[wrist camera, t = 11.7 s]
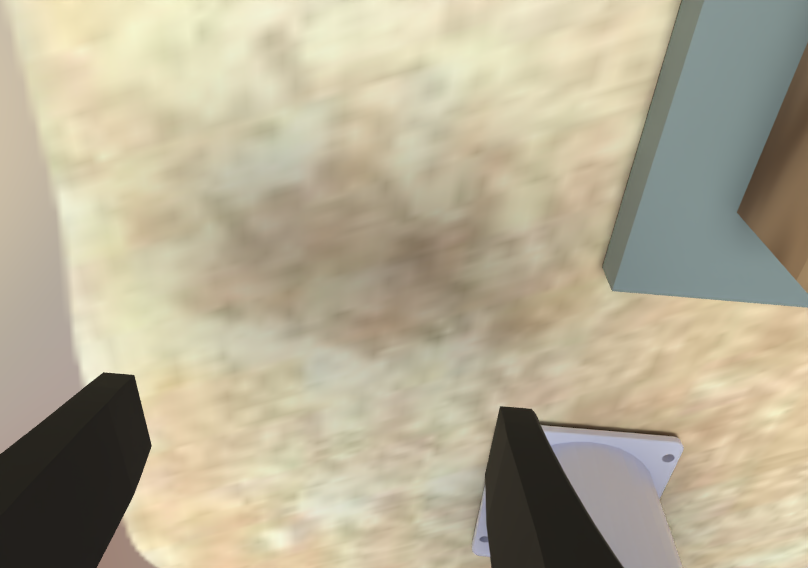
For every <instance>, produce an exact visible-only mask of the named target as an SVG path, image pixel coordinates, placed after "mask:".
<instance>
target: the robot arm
mask: <svg viewBox="0 0 808 568" xmlns="http://www.w3.org/2000/svg"><path fill="white" fill-rule="evenodd" d="M151 446H152V445H151V441H150V437H149V433H148V429H147V425H146V421H145V417H144V413H143V409H142V405H141V401H140V397H139V393H138V389H137V384H136V380H135V376H134V375H127V374H115V373H104V372H103V373H102V374H101V375H100V376H98V377H97V378H96V379H94V380H93V381H92V382H91V383H89V384H88V385H87V386H86V387H84V388H83V389H82V390H81V391H80V392H78V393H77V394H76V395H74V396H73V397H72V398H71V399H69V400H68V401H67V402H66V403H65V404H63V405H62V406H61V407H60V408H58V409H57V410H56V411H55V412H53V413H52V414H51V415H50V416H48V417H47V418H46V419H45V420H43V421H42V422H41V423H40V424H39V425H37V426H36V427H35V428H33V429H32V430H31V431H29V432H28V433H27V434H26V435H24V436H23V437H22V438H20V439H19V440H18V441H17V442H15V443H14V444H13V445H12V446H10V447H9V448H8V449H6V450H5V451H4V452H3V453H1V454H0V568H97V566H98V564H99V562H100V560H101V558H102V556H103V554H104V552H105V551H106V549H107V546H108V545H109V543H110V541H111V539H112V537H113V535H114V533H115V531H116V529H117V527H118V525H119V523H120V521H121V519H122V517H123V515H124V513H125V512H126V510H127V508H128V506H129V504H130V502H131V500H132V497H133V495H134V493H135V490H136V488H137V485H138V483H139V480H140V477H141V475H142V472H143V469H144V466H145V463H146V461H147V458H148V455H149V452H150V449H151ZM683 448H684V447H683V445H682V443H681V440H680V439H679V438H677V437H673V436H662V435H650V434H639V433H627V432H615V431H604V430H592V429H580V428H568V427H557V426H545V425H540V422H539V420H538V418H537V416H536V414H535V412H534V411H533V410H532V409H526V408H514V407H503V406H500V409H499V414H498V419H497V423H496V428H495V432H494V437H493V441H492V446H491V450H490V455H489V460H488V464H487V469H486V473H485V487H484V492H483V496H482V501H481V505H480V510H479V514H478V519H477V523H476V528H475V532H474V537H473V541H472V552H473V553H474V554H476V555H478V556H487V557H490V558H491V566H492V568H683V566H682V563H681V560H680V557H679V554H678V551H677V549H676V546H675V543H674V540H673V537H672V534H671V531H670V529H669V526H668V523H667V520H666V517H665V514H664V511H663V509H662V506H661V503H660V500H659V499H660V497H661V495H662V493H663V491H664V489H665V487H666V485H667V483H668V481H669V479H670V477H671V475H672V472H673V470H674V468H675V466H676V464H677V462H678V460H679V458H680V456H681V454H682V452H683ZM667 454H668V455H667Z"/></svg>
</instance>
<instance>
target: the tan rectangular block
mask: <svg viewBox="0 0 808 568" xmlns="http://www.w3.org/2000/svg"><path fill="white" fill-rule="evenodd" d="M737 213H738V214H739V216H740V217H741V218H742V219H743V220H744V221H745V222H746V224H747V225H748V226H749V227H750V228H751V229H752V231H753V232H754V233H755V234H756V235H757V236H758V237H759V239H760V240H761V241H762V242H763V243H764V244H765V245H766V247H767V248H768V249H769V250H770V251H771V252H772V253H773V255H774V256H775V257H776V258H777V259H778V260H779V261H780V263H781V264H782V265H783V266H784V267H785V268H786V269H787V271H788V272H789V273H790V274H791V275H792V276H793V277H794V279H795V280H796V281H797V282H798V283H799V284H800V285H801V287H802V288H803V289H804V290H805V291H806V292H807V293H808V43H807V45H806V47H805V50H804V52H803V55H802V57H801V59H800V62H799V64H798V67H797V69H796V71H795V74H794V76H793V79H792V81H791V83H790V86H789V88H788V91H787V93H786V95H785V98H784V100H783V103H782V105H781V107H780V110H779V112H778V115H777V117H776V119H775V122H774V124H773V127H772V129H771V131H770V134H769V136H768V139H767V141H766V143H765V146H764V148H763V151H762V153H761V155H760V158H759V160H758V163H757V165H756V167H755V170H754V172H753V174H752V177H751V179H750V182H749V184H748V186H747V189H746V191H745V194H744V196H743V198H742V201H741V203H740V206H739V208H738V210H737Z"/></svg>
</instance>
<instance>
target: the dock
mask: <svg viewBox="0 0 808 568" xmlns="http://www.w3.org/2000/svg"><path fill="white" fill-rule="evenodd" d="M807 43H808V0H682V2H681V5H680V9H679V12H678V15H677V19H676V22H675V25H674V29H673V32H672V35H671V39H670V42H669V45H668V49H667V52H666V55H665V59H664V62H663V66H662V69H661V72H660V76H659V79H658V82H657V86H656V89H655V92H654V96H653V99H652V102H651V106H650V109H649V112H648V116H647V119H646V123H645V126H644V129H643V133H642V136H641V139H640V143H639V146H638V149H637V153H636V156H635V159H634V163H633V166H632V169H631V173H630V176H629V179H628V183H627V186H626V190H625V193H624V196H623V200H622V203H621V206H620V210H619V213H618V216H617V220H616V223H615V226H614V230H613V233H612V236H611V240H610V243H609V246H608V250H607V253H606V257H605V260H604V263H603V267H602V268H603V270H604V273H605V275H606V277H607V280H608V282H609V285H610V287H611V290H612V291H618V292H630V293H642V294H654V295H666V296H678V297H690V298H701V299H713V300H725V301H737V302H749V303H761V304H773V305H784V306H796V307H808V293H807V292H806V291H805V290H804V289H803V288H802V287H801V285H800V284H799V283H798V282H797V281H796V280H795V279H794V277H793V276H792V275H791V274H790V273H789V272H788V271H787V269H786V268H785V267H784V266H783V265H782V264H781V263H780V261H779V260H778V259H777V258H776V257H775V256H774V255H773V253H772V252H771V251H770V250H769V249H768V248H767V247H766V245H765V244H764V243H763V242H762V241H761V240H760V239H759V237H758V236H757V235H756V234H755V233H754V232H753V231H752V229H751V228H750V227H749V226H748V225H747V224H746V222H745V221H744V220H743V219H742V218H741V217H740V216H739V214H738V213H737V210H738V208H739V206H740V203H741V201H742V198H743V196H744V194H745V191H746V189H747V186H748V184H749V182H750V179H751V177H752V174H753V172H754V170H755V167H756V165H757V163H758V160H759V158H760V155H761V153H762V151H763V148H764V146H765V143H766V141H767V139H768V136H769V134H770V131H771V129H772V127H773V124H774V122H775V119H776V117H777V115H778V112H779V110H780V107H781V105H782V103H783V100H784V98H785V95H786V93H787V91H788V88H789V86H790V83H791V81H792V79H793V76H794V74H795V71H796V69H797V67H798V64H799V62H800V59H801V57H802V55H803V52H804V50H805V47H806V45H807Z"/></svg>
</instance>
